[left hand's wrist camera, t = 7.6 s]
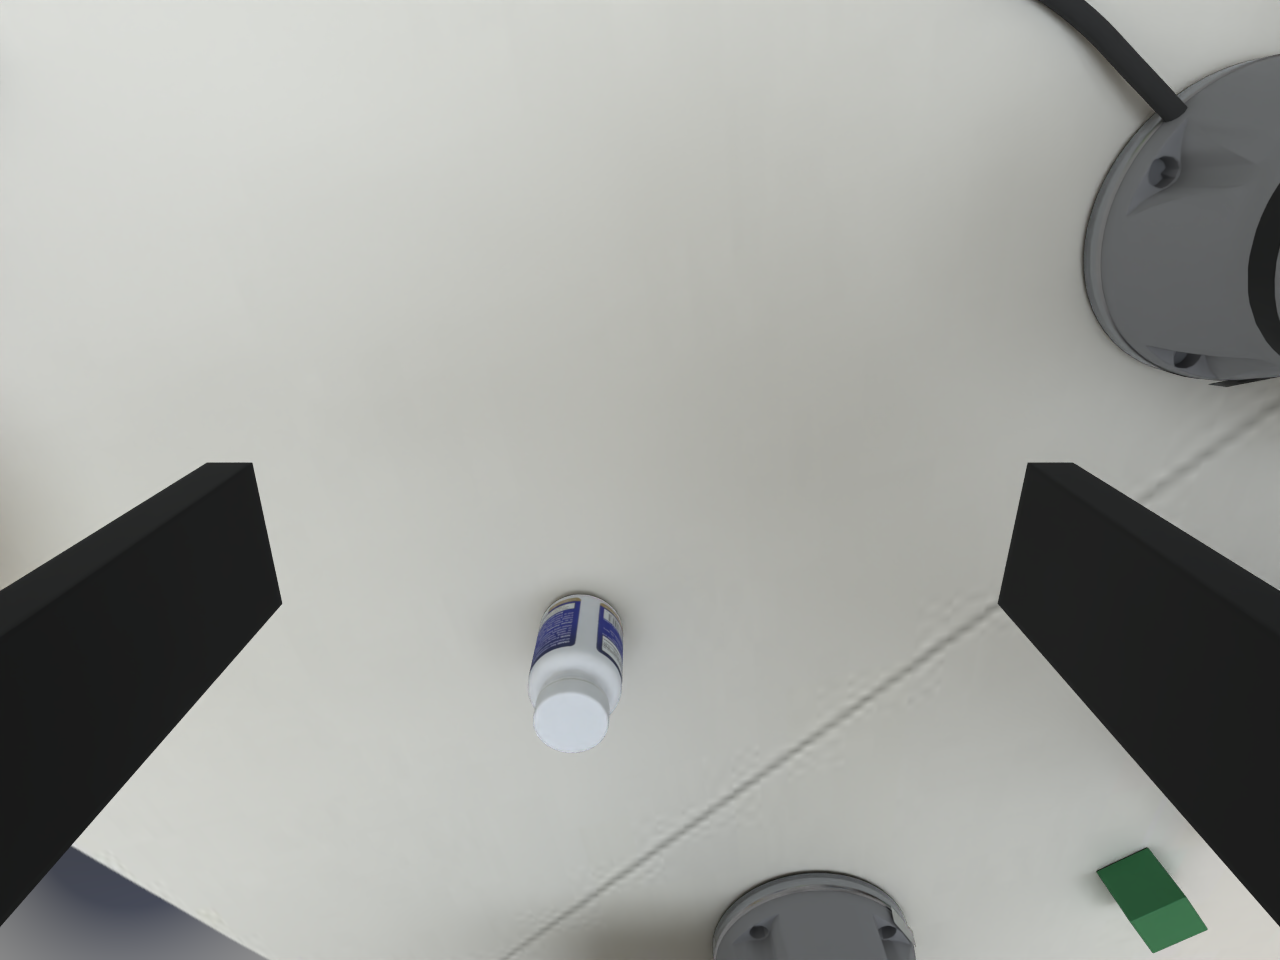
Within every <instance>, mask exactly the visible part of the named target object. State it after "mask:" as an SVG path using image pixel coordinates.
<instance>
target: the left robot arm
mask: <svg viewBox="0 0 1280 960" xmlns="http://www.w3.org/2000/svg"><path fill="white" fill-rule="evenodd" d="M281 605H282V600H281V595H280V591H279V586H278V581H277V577H276V572H275V567H274V562H273V558H272V553H271V548H270V544H269V539H268V534H267V530H266V525H265V520H264V515H263V511H262V506H261V501H260V497H259V492H258V487H257V483H256V478H255V473H254V468H253V464H252V463H206V464H204V465H202V466H201V467H199V468H198V469H196V470H194V471H193V472H191V473H190V474H188V475H186V476H185V477H183V478H182V479H180V480H178V481H177V482H175V483H173V484H172V485H170V486H169V487H167V488H165V489H164V490H162V491H161V492H159V493H157V494H156V495H154V496H153V497H151V498H149V499H148V500H146V501H144V502H143V503H141V504H140V505H138V506H136V507H135V508H133V509H132V510H130V511H128V512H127V513H125V514H124V515H122V516H120V517H119V518H117V519H115V520H114V521H112V522H111V523H109V524H107V525H106V526H104V527H103V528H101V529H99V530H98V531H96V532H95V533H93V534H91V535H90V536H88V537H86V538H85V539H83V540H82V541H80V542H78V543H77V544H75V545H74V546H72V547H70V548H69V549H67V550H66V551H64V552H62V553H61V554H59V555H57V556H56V557H54V558H53V559H51V560H49V561H48V562H46V563H45V564H43V565H41V566H40V567H38V568H37V569H35V570H33V571H32V572H30V573H29V574H27V575H25V576H24V577H22V578H20V579H19V580H17V581H16V582H14V583H12V584H11V585H9V586H8V587H6V588H4V589H3V590H1V591H0V926H1V925H2V924H3V923H4V922H5V921H6V919H7V918H8V917H9V916H10V915H11V914H12V913H13V912H14V910H15V909H16V908H17V907H18V906H19V905H20V903H21V902H22V901H23V900H24V899H25V898H26V897H27V895H28V894H29V893H30V892H31V891H32V890H33V889H34V887H35V886H36V885H37V884H38V883H39V882H40V881H41V879H42V878H43V877H44V876H45V875H46V874H47V873H48V871H49V870H50V869H51V868H52V867H53V866H54V865H55V863H56V862H57V861H58V860H59V859H60V858H61V857H62V855H63V854H64V853H65V852H66V851H67V850H68V849H69V847H70V846H71V845H72V844H73V843H74V842H75V840H76V839H77V838H78V837H79V836H80V835H81V834H82V832H83V831H84V830H85V829H86V828H87V827H88V826H89V824H90V823H91V822H92V821H93V820H94V819H95V818H96V816H97V815H98V814H99V813H100V812H101V811H102V810H103V808H104V807H105V806H106V805H107V804H108V803H109V802H110V800H111V799H112V798H113V797H114V796H115V795H116V794H117V792H118V791H119V790H120V789H121V788H122V787H123V786H124V784H125V783H126V782H127V781H128V780H129V779H130V777H131V776H132V775H133V774H134V773H135V772H136V771H137V769H138V768H139V767H140V766H141V765H142V764H143V763H144V761H145V760H146V759H147V758H148V757H149V756H150V755H151V753H152V752H153V751H154V750H155V749H156V748H157V747H158V745H159V744H160V743H161V742H162V741H163V740H164V739H165V737H166V736H167V735H168V734H169V733H170V732H171V731H172V729H173V728H174V727H175V726H176V725H177V724H178V722H179V721H180V720H181V719H182V718H183V717H184V716H185V714H186V713H187V712H188V711H189V710H190V709H191V708H192V706H193V705H194V704H195V703H196V702H197V701H198V700H199V698H200V697H201V696H202V695H203V694H204V693H205V692H206V690H207V689H208V688H209V687H210V686H211V685H212V684H213V682H214V681H215V680H216V679H217V678H218V677H219V676H220V674H221V673H222V672H223V671H224V670H225V669H226V668H227V666H228V665H229V664H230V663H231V662H232V661H233V659H234V658H235V657H236V656H237V655H238V654H239V653H240V651H241V650H242V649H243V648H244V647H245V646H246V645H247V643H248V642H249V641H250V640H251V639H252V638H253V637H254V635H255V634H256V633H257V632H258V631H259V630H260V629H261V627H262V626H263V625H264V624H265V623H266V622H267V621H268V619H269V618H270V617H271V616H272V615H273V614H274V613H275V611H276V610H277V609H278V608H279V607H280V606H281ZM998 605H999V606H1000V607H1001V608H1002V609H1003V610H1004V611H1005V613H1006V614H1007V615H1008V616H1009V617H1010V618H1011V619H1012V621H1013V622H1014V623H1015V624H1016V625H1017V626H1018V627H1019V629H1020V630H1021V631H1022V632H1023V633H1024V634H1025V635H1026V637H1027V638H1028V639H1029V640H1030V641H1031V642H1032V643H1033V645H1034V646H1035V647H1036V648H1037V649H1038V650H1039V651H1040V653H1041V654H1042V655H1043V656H1044V657H1045V658H1046V659H1047V661H1048V662H1049V663H1050V664H1051V665H1052V666H1053V668H1054V669H1055V670H1056V671H1057V672H1058V673H1059V674H1060V676H1061V677H1062V678H1063V679H1064V680H1065V681H1066V682H1067V684H1068V685H1069V686H1070V687H1071V688H1072V689H1073V690H1074V692H1075V693H1076V694H1077V695H1078V696H1079V697H1080V698H1081V700H1082V701H1083V702H1084V703H1085V704H1086V705H1087V706H1088V708H1089V709H1090V710H1091V711H1092V712H1093V713H1094V714H1095V716H1096V717H1097V718H1098V719H1099V720H1100V721H1101V722H1102V724H1103V725H1104V726H1105V727H1106V728H1107V729H1108V731H1109V732H1110V733H1111V734H1112V735H1113V736H1114V737H1115V739H1116V740H1117V741H1118V742H1119V743H1120V744H1121V745H1122V747H1123V748H1124V749H1125V750H1126V751H1127V752H1128V753H1129V755H1130V756H1131V757H1132V758H1133V759H1134V760H1135V761H1136V763H1137V764H1138V765H1139V766H1140V767H1141V768H1142V769H1143V771H1144V772H1145V773H1146V774H1147V775H1148V776H1149V777H1150V779H1151V780H1152V781H1153V782H1154V783H1155V784H1156V786H1157V787H1158V788H1159V789H1160V790H1161V791H1162V792H1163V794H1164V795H1165V796H1166V797H1167V798H1168V799H1169V800H1170V802H1171V803H1172V804H1173V805H1174V806H1175V807H1176V808H1177V810H1178V811H1179V812H1180V813H1181V814H1182V815H1183V816H1184V818H1185V819H1186V820H1187V821H1188V822H1189V823H1190V824H1191V826H1192V827H1193V828H1194V829H1195V830H1196V831H1197V832H1198V834H1199V835H1200V836H1201V837H1202V838H1203V839H1204V840H1205V842H1206V843H1207V844H1208V845H1209V846H1210V847H1211V849H1212V850H1213V851H1214V852H1215V853H1216V854H1217V855H1218V857H1219V858H1220V859H1221V860H1222V861H1223V862H1224V863H1225V865H1226V866H1227V867H1228V868H1229V869H1230V870H1231V871H1232V873H1233V874H1234V875H1235V876H1236V877H1237V878H1238V879H1239V881H1240V882H1241V883H1242V884H1243V885H1244V886H1245V887H1246V889H1247V890H1248V891H1249V892H1250V893H1251V894H1252V895H1253V897H1254V898H1255V899H1256V900H1257V901H1258V902H1259V903H1260V905H1261V906H1262V907H1263V908H1264V909H1265V910H1266V912H1267V913H1268V914H1269V915H1270V916H1271V917H1272V918H1273V920H1274V921H1275V922H1276V923H1277V924H1278V925H1279V926H1280V591H1279V590H1277V589H1276V588H1274V587H1272V586H1271V585H1269V584H1268V583H1266V582H1264V581H1263V580H1261V579H1260V578H1258V577H1256V576H1255V575H1253V574H1251V573H1250V572H1248V571H1247V570H1245V569H1243V568H1242V567H1240V566H1239V565H1237V564H1235V563H1234V562H1232V561H1231V560H1229V559H1227V558H1226V557H1224V556H1223V555H1221V554H1219V553H1218V552H1216V551H1214V550H1213V549H1211V548H1210V547H1208V546H1206V545H1205V544H1203V543H1202V542H1200V541H1198V540H1197V539H1195V538H1194V537H1192V536H1190V535H1189V534H1187V533H1185V532H1184V531H1182V530H1181V529H1179V528H1177V527H1176V526H1174V525H1173V524H1171V523H1169V522H1168V521H1166V520H1165V519H1163V518H1161V517H1160V516H1158V515H1156V514H1155V513H1153V512H1152V511H1150V510H1148V509H1147V508H1145V507H1144V506H1142V505H1140V504H1139V503H1137V502H1136V501H1134V500H1132V499H1131V498H1129V497H1127V496H1126V495H1124V494H1123V493H1121V492H1119V491H1118V490H1116V489H1115V488H1113V487H1111V486H1110V485H1108V484H1107V483H1105V482H1103V481H1102V480H1100V479H1098V478H1097V477H1095V476H1094V475H1092V474H1090V473H1089V472H1087V471H1086V470H1084V469H1082V468H1081V467H1079V466H1078V465H1076V464H1074V463H1028V464H1027V468H1026V473H1025V478H1024V483H1023V487H1022V492H1021V497H1020V501H1019V506H1018V511H1017V515H1016V520H1015V525H1014V530H1013V534H1012V539H1011V544H1010V548H1009V553H1008V558H1007V562H1006V567H1005V572H1004V577H1003V581H1002V586H1001V591H1000V595H999V600H998ZM913 944H914V945H915V940H914V936H913V931H912V930H911V929H910V928H909V927H908V925H907V923H906V920H905V917H904V915H903V913H902V911H901V910H900V908H899V906H898V905H897V904H896V903H895V902H894V900H893V899H892V898H891V897H889V896H888V895H887V894H886V893H885V892H883V891H882V890H880V889H879V888H877V887H875V886H874V885H872V884H869V883H867V882H865V881H862V880H860V879H857V878H853V877H849V876H844V875H839V874H830V873H807V874H798V875H792V876H787V877H783V878H779V879H776V880H773V881H770V882H768V883H765V884H763V885H761V886H759V887H757V888H755V889H753V890H751V891H749V892H748V893H746V894H745V895H743V896H742V897H741V898H739V899H738V900H737V901H736V902H735V903H734V904H732V905H731V906H730V908H729V909H728V910H727V911H726V912H725V913H724V915H723V916H722V918H721V919H720V921H719V923H718V925H717V927H716V930H715V933H714V937H713V957H714V960H916V956H915V951H914V945H913ZM915 947H916V945H915Z"/></svg>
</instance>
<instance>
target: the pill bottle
mask: <svg viewBox="0 0 1280 960" xmlns="http://www.w3.org/2000/svg"><path fill="white" fill-rule="evenodd" d="M622 664H623V627H622V623H621V620H620V618H619V616H618V614H617V612H616V611H615V610H614V609H613V608H612V607H611V606H610V605H609V604H608V603H606V602H605V601H603V600H601V599H599V598H597V597H594V596H590V595H582V594H579V595H571V596H567V597H564V598H562V599H560V600H558V601H556V602H555V603H553V604H552V605H551V606H550V607H549V608H548V609H547V611H546V612H545V614H544V615H543V617H542V620H541V623H540V627H539V632H538V637H537V642H536V646H535V651H534V656H533V660H532V665H531V669H530V674H529V679H528V694H529V698H530V701H531V703H532V705H533V707H534V708H535V710H534V716H533V725H534V729H535V732H536V734H537V735H538V737H539V738H540V739H541V741H542V742H543V743H545V744H546V745H547V746H549V747H551V748H553V749H555V750H558V751H561V752H566V753H576V752H582V751H586V750H588V749H591V748H592V747H594V746H596V745H597V744H598V743H599V742H601V740H602V739H603V738H604V737H605V735H606V733H607V730H608V725H609V715H610V714H611V713H612V712H613V711H614V709H615V708H616V706H617V704H618V702H619V699H620V696H621V689H622Z"/></svg>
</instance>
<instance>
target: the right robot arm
mask: <svg viewBox="0 0 1280 960" xmlns="http://www.w3.org/2000/svg"><path fill="white" fill-rule="evenodd" d="M1039 1H1041V2H1042V3H1044V4H1045V5H1046V6H1048V7H1049V8H1051V9H1052V10H1053V11H1055V12H1056V13H1057V14H1059V15H1060V16H1061V17H1062V18H1064V19H1065V20H1066V21H1067V22H1069V23H1070V24H1071V25H1072V26H1073V27H1075V28H1076V29H1077V30H1078V31H1079V32H1080V33H1081V34H1083V35H1084V36H1085V37H1086V38H1087V39H1088V40H1089V41H1090V42H1091V43H1092V44H1093V45H1094V46H1095V47H1096V48H1097V49H1098V50H1099V51H1100V53H1101V54H1102V55H1103V56H1104V57H1105V58H1106V59H1107V60H1108V61H1109V62H1110V64H1111V65H1112V66H1113V67H1114V68H1115V69H1116V70H1117V71H1118V72H1119V73H1120V74H1121V75H1122V77H1123V78H1124V79H1125V80H1126V81H1127V82H1128V83H1129V84H1130V85H1131V86H1132V87H1133V88H1134V89H1135V90H1136V91H1137V92H1138V93H1139V95H1140V96H1141V97H1142V98H1143V99H1144V100H1145V101H1146V102H1147V103H1148V104H1149V105H1150V106H1151V107H1152V108H1153V110H1154V111H1155V112H1156V113H1155V114H1154V115H1153V116H1152V117H1151V118H1150V119H1148V120H1147V121H1146V122H1145V124H1144V125H1143V126H1142V127H1141V128H1140V129H1139V130H1138V131H1137V132H1136V134H1135V135H1134V136H1133V137H1132V138H1131V140H1130V141H1129V142H1128V144H1127V145H1126V146H1125V147H1124V149H1123V150H1122V152H1121V153H1120V155H1119V156H1118V158H1117V159H1116V161H1115V162H1114V164H1113V165H1112V167H1111V169H1110V171H1109V173H1108V174H1107V176H1106V178H1105V180H1104V182H1103V184H1102V186H1101V189H1100V191H1099V193H1098V195H1097V198H1096V201H1095V204H1094V206H1093V209H1092V212H1091V216H1090V220H1089V224H1088V228H1087V233H1086V239H1085V249H1084V275H1085V283H1086V288H1087V293H1088V297H1089V300H1090V303H1091V306H1092V309H1093V311H1094V313H1095V315H1096V317H1097V319H1098V321H1099V323H1100V325H1101V326H1102V328H1103V329H1104V331H1105V332H1106V333H1107V335H1108V336H1109V337H1110V338H1111V339H1112V340H1113V342H1114V343H1115V344H1117V345H1118V346H1119V347H1120V348H1121V349H1122V350H1123V351H1125V352H1126V353H1128V354H1129V355H1130V356H1132V357H1133V358H1135V359H1137V360H1139V361H1141V362H1143V363H1145V364H1147V365H1150V366H1152V367H1155V368H1158V369H1161V370H1164V371H1167V372H1170V373H1173V374H1177V375H1180V376H1184V377H1190V378H1197V379H1208V380H1228V381H1223V382H1217V383H1212V384H1209V385H1216V386H1223V387H1229V386H1234V385H1239V384H1244V383H1249V382H1255V381H1260V380H1265V379H1270V378H1275V377H1280V54H1278V55H1273V56H1269V57H1264V58H1259V59H1255V60H1251V61H1247V62H1243V63H1240V64H1236V65H1233V66H1231V67H1228V68H1225V69H1223V70H1220V71H1218V72H1216V73H1214V74H1212V75H1209V76H1207V77H1205V78H1203V79H1202V80H1200V81H1198V82H1196V83H1195V84H1193V85H1191V86H1190V87H1188V88H1187V89H1185V90H1184V91H1182V92H1181V93H1179V94H1178V95H1176V94H1175V93H1174V92H1173V91H1172V90H1171V88H1170V87H1169V86H1168V85H1167V84H1166V83H1165V82H1164V81H1163V80H1162V79H1161V78H1160V77H1159V76H1158V75H1157V73H1156V72H1155V71H1154V70H1153V69H1152V68H1151V67H1150V66H1149V65H1148V64H1147V63H1146V62H1145V61H1144V60H1143V59H1142V57H1141V56H1140V55H1139V54H1138V53H1137V52H1136V51H1135V50H1134V49H1133V48H1132V47H1131V45H1130V44H1129V43H1128V42H1127V41H1126V40H1125V39H1124V38H1123V37H1122V36H1121V34H1120V33H1119V32H1118V31H1117V30H1116V29H1115V28H1114V27H1113V26H1112V25H1111V24H1110V23H1109V22H1108V21H1107V20H1106V19H1105V18H1104V17H1103V16H1102V15H1101V14H1100V13H1099V12H1097V11H1096V10H1095V9H1094V8H1093V7H1092V6H1091V5H1089V4H1088V3H1087V2H1086V1H1085V0H1039Z"/></svg>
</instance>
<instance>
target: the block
mask: <svg viewBox="0 0 1280 960" xmlns="http://www.w3.org/2000/svg"><path fill="white" fill-rule="evenodd" d="M1097 874H1098V875H1099V877H1100V878H1101V880H1102V881H1103V883H1104V884H1105V886H1106V887H1107V888H1108V890H1109V891H1110V893H1111V894H1112V896H1113V897H1114V899H1115V900H1116V902H1117V903H1118V905H1119V906H1120V908H1121V909H1122V911H1123V912H1124V914H1125V915H1126V917H1127V918H1128V920H1129V921H1130V923H1131V924H1132V925H1133V927H1134V928H1135V929H1136V931H1137V932H1138V934H1139V935H1140V936H1141V938H1142V939H1143V940H1144V942H1145V943H1146V945H1147V946H1148V947H1149V949H1150V950H1151V952H1152V953H1155V952H1158V951H1160V950H1162V949H1164V948H1167V947H1169V946H1171V945H1174V944H1176V943H1178V942H1181V941H1183V940H1185V939H1187V938H1190V937H1192V936H1194V935H1197V934H1199V933H1201V932H1204V931H1206V930H1208V929H1207V927H1206V926H1205V924H1204V923H1203V921H1202V920H1201V918H1200V917H1199V915H1198V914H1197V912H1196V911H1195V909H1194V908H1193V906H1192V905H1191V903H1190V902H1189V900H1188V899H1187V897H1186V896H1185V895H1184V893H1183V892H1182V891H1181V890H1180V888H1179V887H1178V886H1177V884H1176V883H1175V882H1174V880H1173V879H1172V878H1171V877H1170V875H1169V874H1168V873H1167V871H1166V870H1165V869H1164V868H1163V866H1162V865H1161V864H1160V862H1159V861H1158V860H1157V859H1156V857H1155V856H1154V855H1153V853H1152V852H1151V851H1150V850H1149V848H1146V849H1144V850H1142V851H1139V852H1137V853H1135V854H1133V855H1131V856H1129V857H1127V858H1124V859H1122V860H1120V861H1118V862H1116V863H1114V864H1112V865H1110V866H1107V867H1105V868H1103V869H1101V870H1099V871H1097Z"/></svg>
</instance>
